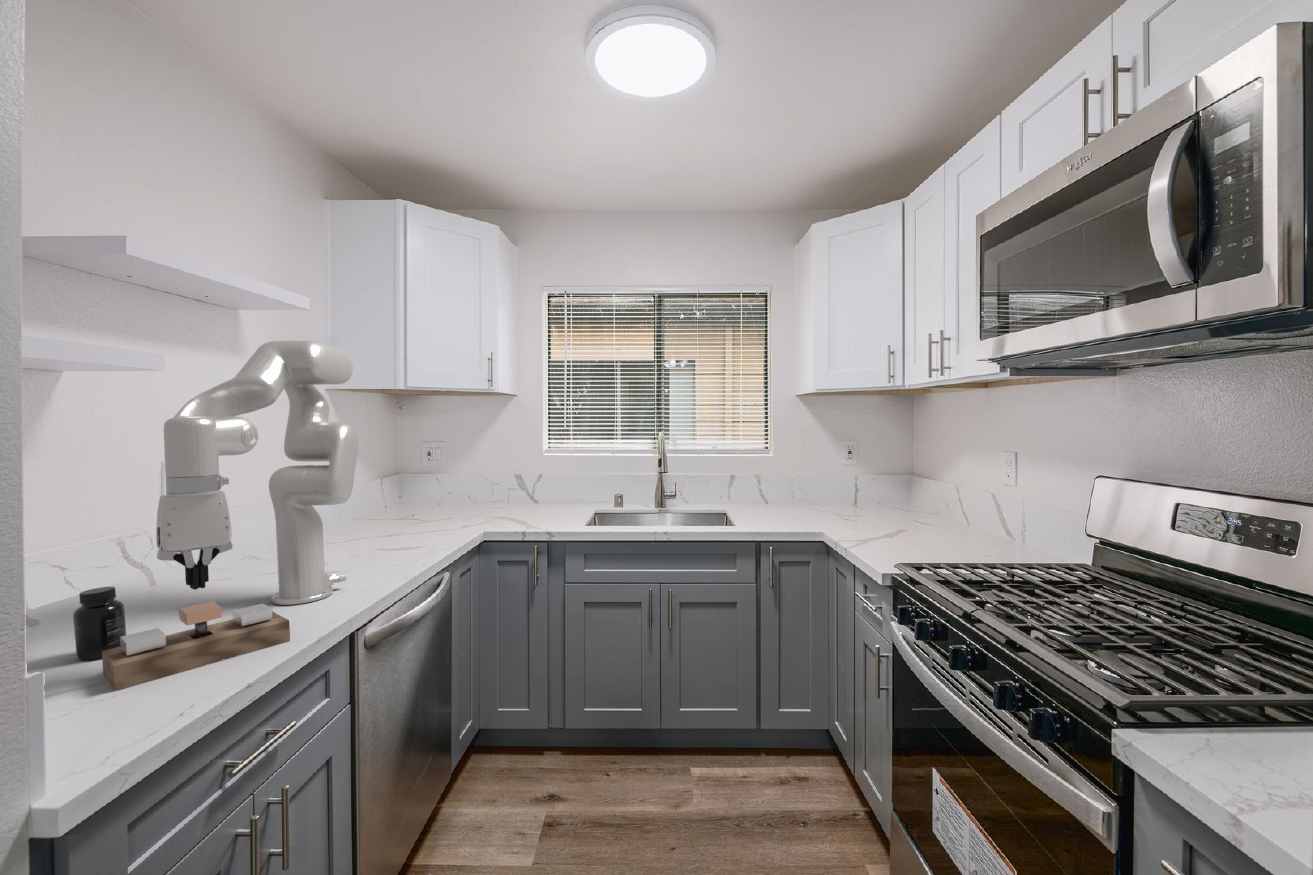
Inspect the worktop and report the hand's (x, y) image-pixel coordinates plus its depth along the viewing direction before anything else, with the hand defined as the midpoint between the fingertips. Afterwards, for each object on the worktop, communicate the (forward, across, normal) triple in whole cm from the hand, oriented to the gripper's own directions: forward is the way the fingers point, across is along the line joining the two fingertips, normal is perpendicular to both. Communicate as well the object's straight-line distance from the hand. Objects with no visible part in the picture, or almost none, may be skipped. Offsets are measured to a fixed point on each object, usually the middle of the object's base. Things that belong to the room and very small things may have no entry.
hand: (197, 587), depth 104 cm
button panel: (+13, 0, 0) cm, 13 cm away
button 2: (+12, -8, 0) cm, 15 cm away
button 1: (+13, +8, 0) cm, 15 cm away
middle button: (+10, 0, 0) cm, 10 cm away
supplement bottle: (+13, +11, -17) cm, 24 cm away
